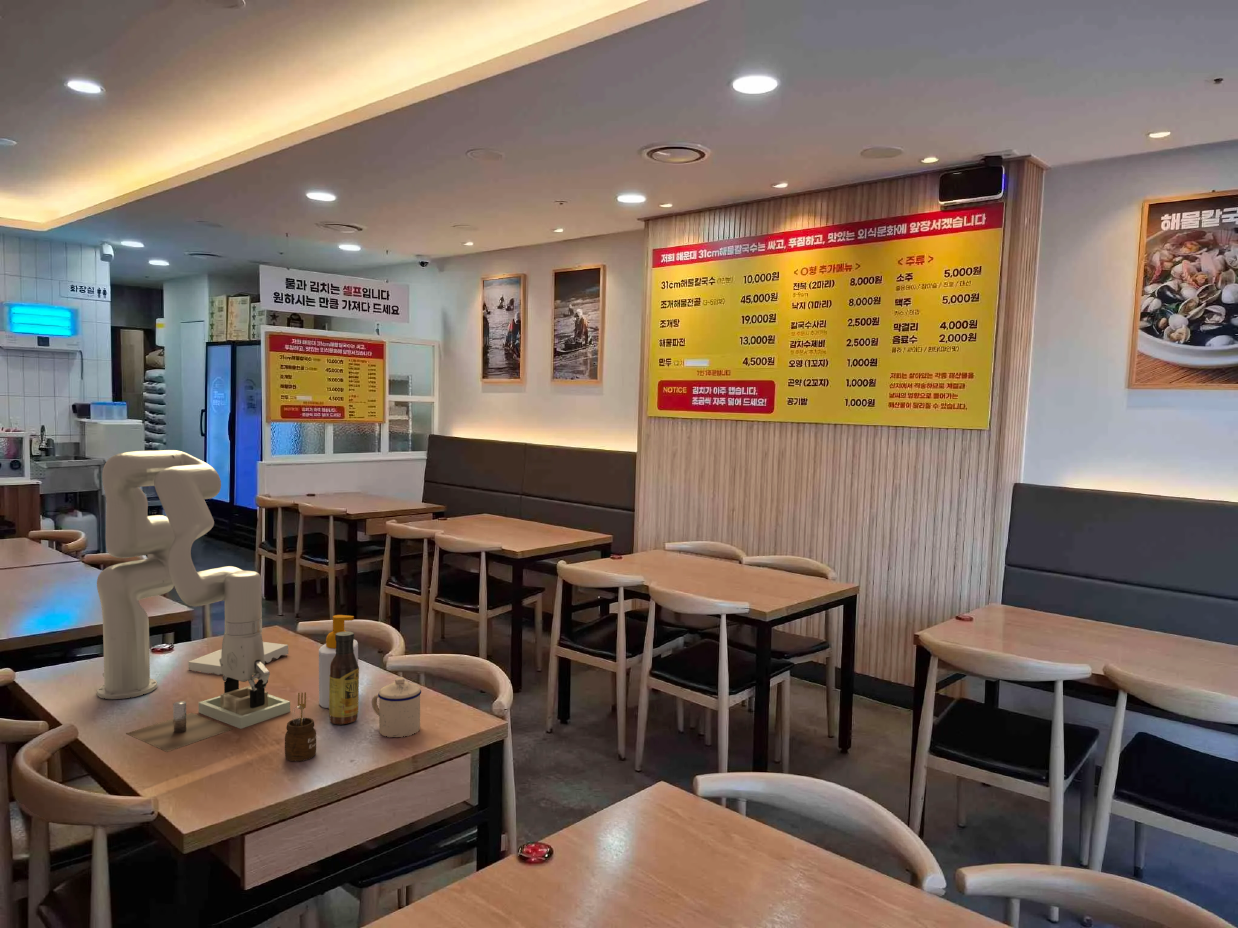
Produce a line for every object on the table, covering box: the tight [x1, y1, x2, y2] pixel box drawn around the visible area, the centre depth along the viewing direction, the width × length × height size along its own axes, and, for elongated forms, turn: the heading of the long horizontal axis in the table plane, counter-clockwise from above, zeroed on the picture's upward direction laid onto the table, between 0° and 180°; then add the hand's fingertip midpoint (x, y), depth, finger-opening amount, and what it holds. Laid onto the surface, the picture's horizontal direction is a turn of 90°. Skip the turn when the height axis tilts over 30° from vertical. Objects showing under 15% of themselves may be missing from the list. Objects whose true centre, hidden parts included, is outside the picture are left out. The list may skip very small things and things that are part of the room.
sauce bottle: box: [328, 630, 360, 725], centre depth 180 cm, size 7×6×20 cm
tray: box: [197, 693, 291, 730], centre depth 181 cm, size 16×12×4 cm
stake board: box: [125, 712, 234, 753], centre depth 170 cm, size 16×14×2 cm
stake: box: [172, 700, 187, 733], centre depth 169 cm, size 2×2×6 cm
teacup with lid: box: [371, 677, 422, 738], centre depth 176 cm, size 12×9×12 cm
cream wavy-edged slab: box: [187, 641, 289, 676], centre depth 220 cm, size 15×3×20 cm
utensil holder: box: [284, 692, 317, 762], centre depth 162 cm, size 6×6×12 cm
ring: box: [219, 685, 269, 715], centre depth 181 cm, size 7×7×5 cm
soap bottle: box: [318, 614, 359, 709], centre depth 193 cm, size 13×8×20 cm, turn 178°
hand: (244, 701), depth 181 cm, fingers open, 9 cm apart
